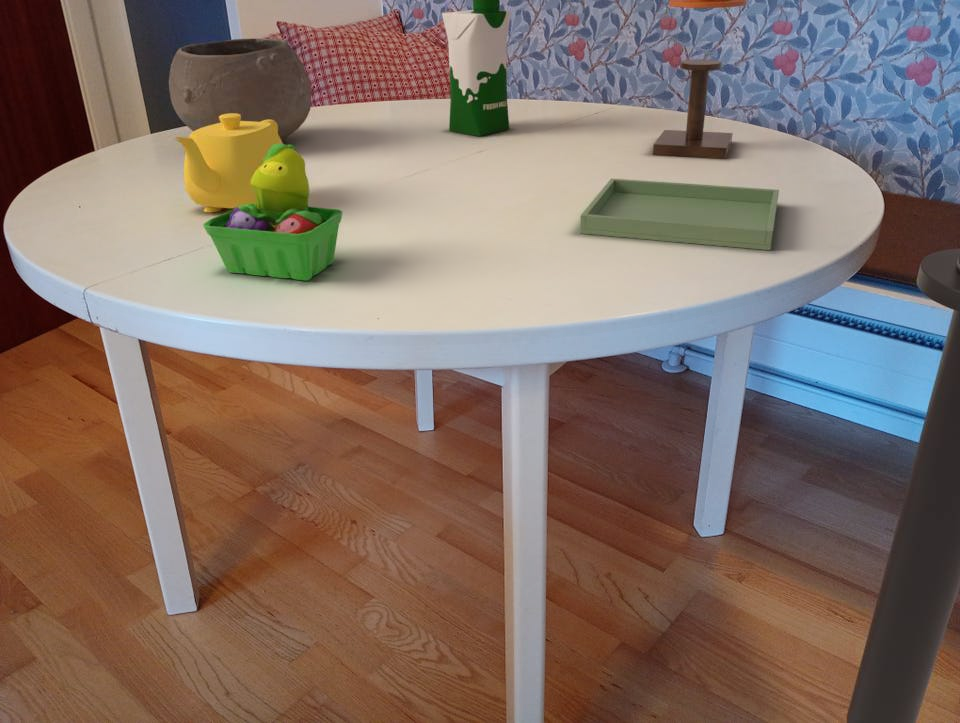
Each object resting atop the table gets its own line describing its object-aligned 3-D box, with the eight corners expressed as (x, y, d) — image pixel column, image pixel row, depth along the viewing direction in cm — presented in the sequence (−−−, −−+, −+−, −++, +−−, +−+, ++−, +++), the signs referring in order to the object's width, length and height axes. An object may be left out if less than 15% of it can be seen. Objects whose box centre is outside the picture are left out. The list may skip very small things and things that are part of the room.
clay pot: (319, 153, 122) (307, 46, 115) (173, 164, 119) (151, 54, 112) (314, 126, 141) (303, 32, 134) (187, 135, 137) (169, 39, 130)
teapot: (233, 234, 89) (216, 134, 84) (152, 225, 93) (131, 129, 88) (319, 190, 104) (309, 103, 99) (247, 184, 108) (233, 99, 103)
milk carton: (480, 138, 129) (476, -1, 120) (440, 131, 134) (434, -2, 125) (517, 129, 134) (517, -4, 125) (477, 122, 140) (474, -6, 131)
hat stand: (731, 143, 122) (741, 57, 116) (725, 158, 114) (735, 67, 108) (663, 139, 125) (670, 56, 119) (652, 154, 117) (659, 66, 111)
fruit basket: (207, 276, 78) (185, 157, 73) (258, 246, 86) (241, 136, 81) (312, 288, 75) (297, 165, 70) (356, 256, 82) (345, 142, 77)
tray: (776, 206, 93) (779, 189, 92) (770, 250, 81) (773, 231, 80) (610, 194, 99) (610, 178, 98) (579, 233, 87) (580, 215, 86)
